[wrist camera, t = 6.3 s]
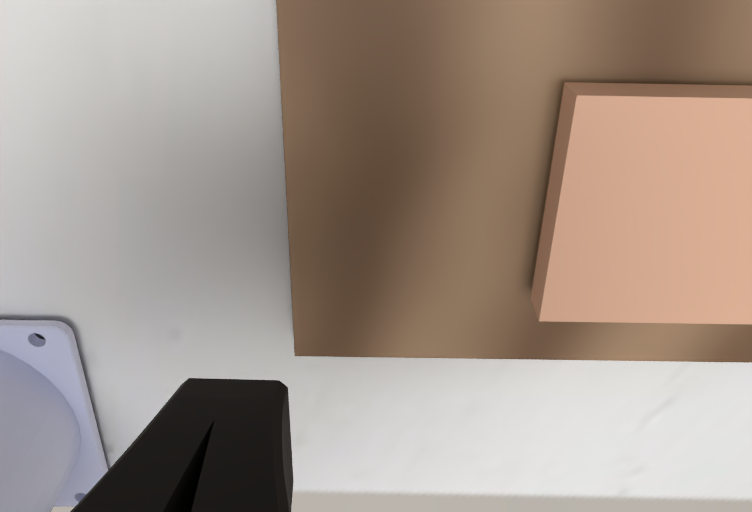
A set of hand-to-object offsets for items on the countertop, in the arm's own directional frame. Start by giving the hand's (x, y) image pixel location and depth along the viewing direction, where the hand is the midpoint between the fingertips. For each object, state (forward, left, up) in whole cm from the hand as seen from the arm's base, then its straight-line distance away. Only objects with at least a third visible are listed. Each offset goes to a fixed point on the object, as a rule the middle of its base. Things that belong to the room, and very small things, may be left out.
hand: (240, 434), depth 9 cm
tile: (+6, 0, -8) cm, 10 cm away
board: (+8, 0, -10) cm, 13 cm away
